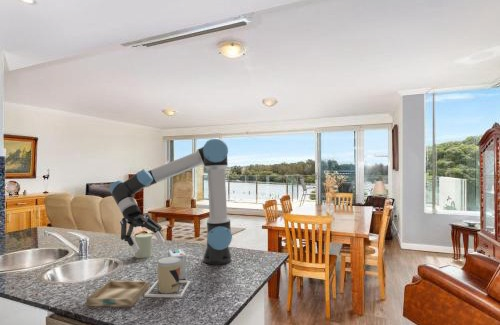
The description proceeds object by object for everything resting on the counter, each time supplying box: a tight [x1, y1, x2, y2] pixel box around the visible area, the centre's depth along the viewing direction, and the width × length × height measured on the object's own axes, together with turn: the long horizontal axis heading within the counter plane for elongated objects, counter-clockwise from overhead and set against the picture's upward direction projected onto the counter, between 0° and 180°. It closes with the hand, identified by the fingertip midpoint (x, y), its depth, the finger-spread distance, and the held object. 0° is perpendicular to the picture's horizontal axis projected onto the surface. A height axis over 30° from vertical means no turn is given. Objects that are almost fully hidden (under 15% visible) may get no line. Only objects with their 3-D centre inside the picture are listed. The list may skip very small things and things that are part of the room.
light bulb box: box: [167, 248, 187, 280], centre depth 132 cm, size 11×7×11 cm, turn 23°
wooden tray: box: [85, 280, 150, 308], centre depth 110 cm, size 16×17×3 cm
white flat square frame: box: [143, 279, 191, 299], centre depth 117 cm, size 15×15×1 cm
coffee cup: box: [156, 256, 181, 294], centre depth 117 cm, size 9×9×12 cm
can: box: [134, 233, 153, 259], centre depth 162 cm, size 9×9×12 cm
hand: (150, 247), depth 123 cm, fingers open, 13 cm apart
